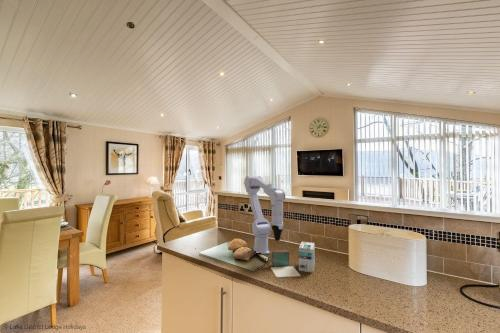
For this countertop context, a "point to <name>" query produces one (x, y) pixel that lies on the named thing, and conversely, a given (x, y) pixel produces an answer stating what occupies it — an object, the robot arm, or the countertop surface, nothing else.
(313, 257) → the light bulb box
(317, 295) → the countertop surface
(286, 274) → the cream mat
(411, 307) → the countertop surface
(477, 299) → the countertop surface
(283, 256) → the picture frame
